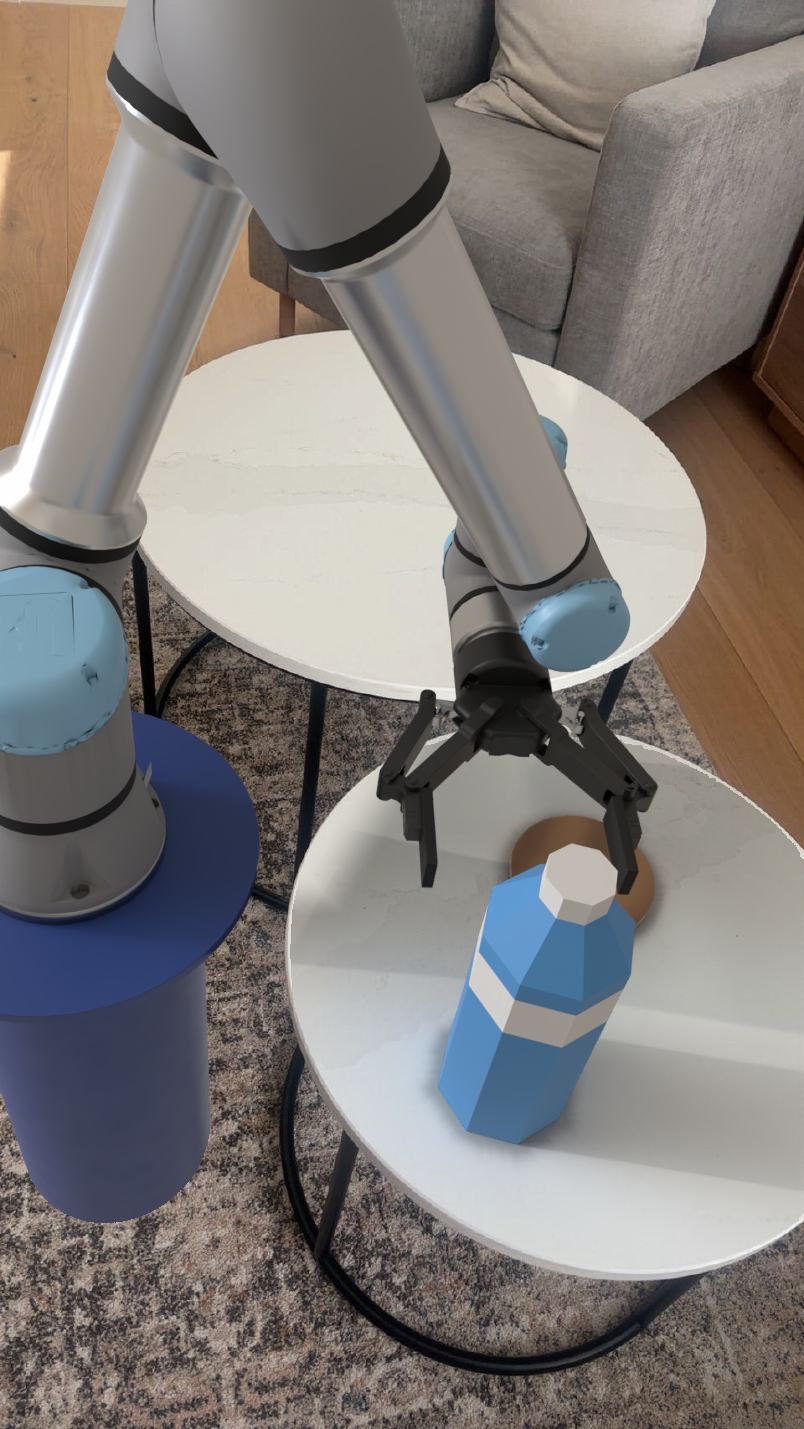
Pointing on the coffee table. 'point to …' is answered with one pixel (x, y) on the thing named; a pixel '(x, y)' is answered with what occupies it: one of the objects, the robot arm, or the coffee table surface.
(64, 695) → the robot arm
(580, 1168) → the coffee table surface
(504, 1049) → the water bottle
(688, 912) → the coffee table surface
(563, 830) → the coaster
